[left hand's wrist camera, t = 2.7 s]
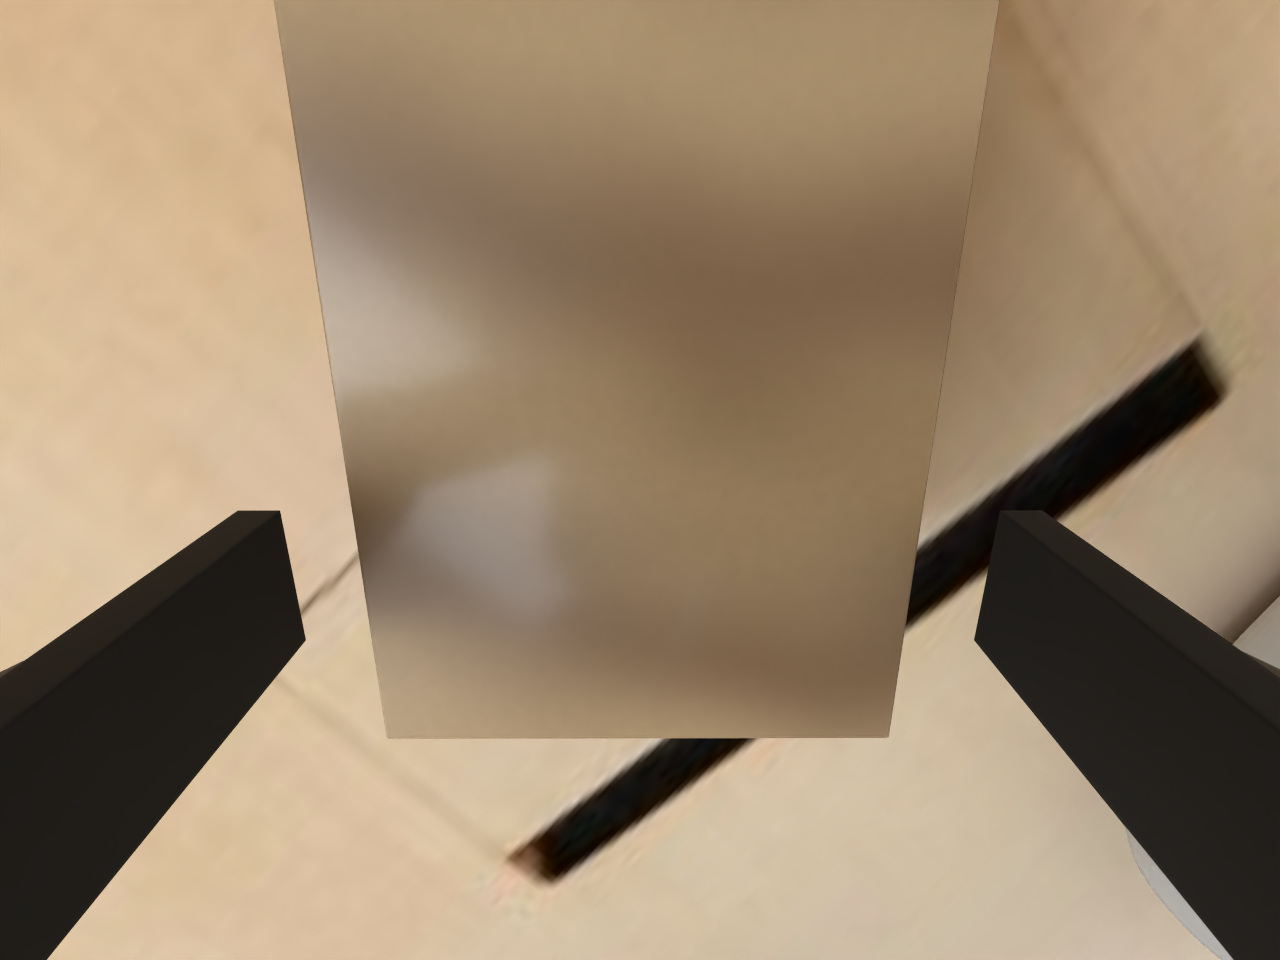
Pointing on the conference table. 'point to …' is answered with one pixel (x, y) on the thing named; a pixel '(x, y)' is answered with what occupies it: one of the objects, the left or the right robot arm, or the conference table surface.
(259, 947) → the conference table surface
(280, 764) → the conference table surface
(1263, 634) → the projector
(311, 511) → the conference table surface
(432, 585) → the cabinet
